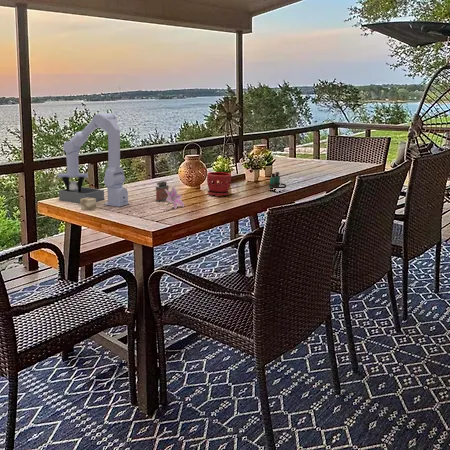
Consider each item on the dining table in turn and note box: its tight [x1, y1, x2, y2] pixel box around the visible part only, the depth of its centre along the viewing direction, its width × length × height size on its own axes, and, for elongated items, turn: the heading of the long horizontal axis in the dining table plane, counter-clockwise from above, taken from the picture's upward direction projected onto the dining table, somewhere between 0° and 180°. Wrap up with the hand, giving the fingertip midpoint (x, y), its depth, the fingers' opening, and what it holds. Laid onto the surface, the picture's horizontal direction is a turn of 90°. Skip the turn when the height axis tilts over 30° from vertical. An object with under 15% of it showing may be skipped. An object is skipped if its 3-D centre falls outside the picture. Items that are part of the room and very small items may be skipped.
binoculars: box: [268, 171, 287, 190], centre depth 294 cm, size 9×11×10 cm
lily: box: [165, 185, 186, 210], centre depth 250 cm, size 12×12×10 cm
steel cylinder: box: [68, 180, 79, 193], centre depth 262 cm, size 5×5×7 cm
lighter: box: [155, 180, 170, 203], centre depth 263 cm, size 8×3×10 cm, turn 141°
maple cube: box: [80, 197, 97, 211], centre depth 243 cm, size 5×5×5 cm
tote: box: [58, 186, 105, 205], centre depth 262 cm, size 18×14×5 cm
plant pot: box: [206, 171, 232, 197], centre depth 280 cm, size 13×13×12 cm
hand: (74, 191), depth 263 cm, fingers closed on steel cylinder, 5 cm apart
